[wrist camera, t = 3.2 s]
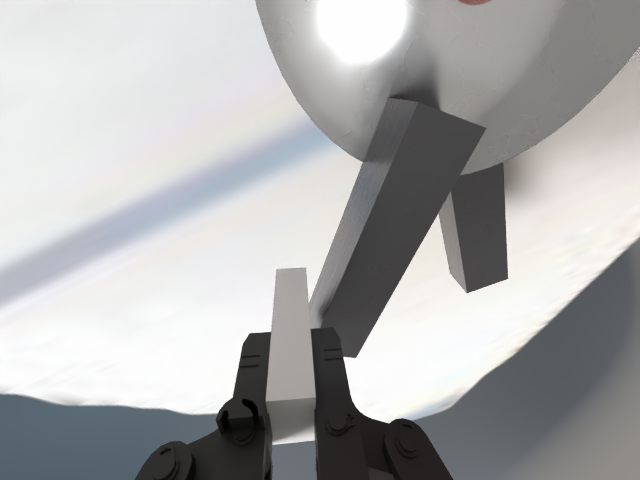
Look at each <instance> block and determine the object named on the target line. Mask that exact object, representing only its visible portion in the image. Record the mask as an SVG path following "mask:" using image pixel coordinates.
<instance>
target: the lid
mask: <svg viewBox="0 0 640 480" xmlns="http://www.w3.org/2000/svg"><path fill="white" fill-rule="evenodd" d="M255 1H256V5H257V10H258V13H259V16H260V19H261V22H262V25H263V28H264V31H265V34H266V38H267V41H268V44H269V46H270V49H271V51H272V53H273V55H274V58H275V60H276V62H277V64H278V67H279V69H280V71H281V74H282V76H283V77H284V79H285V81H286V82H287V84H288V86H289V88H290V89H291V91H292V93H293V94H294V96H295V98H296V100H297V101H298V103H299V104H300V105H301V107H302V108H303V109H304V111H305V112H306V113H307V114H308V116H309V117H310V118H311V120H312V121H313V122H314V123H315V124H316V125H317V127H318V128H319V129H320V130H321V131H322V132H323V133H324V134H325V135H326V136H327V137H328V138H329V139H330V140H331V141H333V142H334V143H335V144H337V145H338V146H339V147H340V148H342V149H343V150H344V151H346V152H347V153H348V154H350V155H351V156H353V157H355V158H357V159H359V160H360V161H362V162H363V164H362V166H361V169H360V172H359V174H358V177H357V180H356V182H355V185H354V187H353V190H352V193H351V195H350V198H349V200H348V203H347V206H346V208H345V211H344V214H343V216H342V219H341V221H340V224H339V227H338V229H337V232H336V234H335V237H334V240H333V242H332V245H331V248H330V250H329V253H328V255H327V258H326V261H325V263H324V266H323V268H322V271H321V274H320V276H319V279H318V282H317V284H316V287H315V289H314V292H313V295H312V297H311V300H310V302H309V315H310V329H315V328H330V327H333V328H334V330H335V331H336V333H337V334H338V336H339V337H340V343H341V348H342V353H343V356H344V357H352V358H356V357H357V355H358V353H359V352H360V350H361V348H362V346H363V344H364V343H365V341H366V339H367V337H368V336H369V334H370V332H371V330H372V329H373V327H374V325H375V323H376V322H377V320H378V318H379V316H380V315H381V313H382V311H383V309H384V308H385V306H386V304H387V302H388V301H389V299H390V297H391V295H392V294H393V292H394V290H395V288H396V287H397V285H398V283H399V281H400V280H401V278H402V276H403V274H404V272H405V271H406V269H407V267H408V265H409V264H410V262H411V260H412V258H413V257H414V255H415V253H416V251H417V250H418V248H419V246H420V244H421V243H422V241H423V239H424V237H425V236H426V234H427V232H428V230H429V229H430V227H431V225H432V223H433V222H434V220H435V218H436V216H437V215H438V213H439V211H440V209H441V208H442V206H443V204H444V202H445V201H446V199H447V197H448V195H449V193H450V192H451V190H452V188H453V186H454V185H455V183H456V181H457V179H458V178H459V176H460V175H465V174H470V173H473V172H476V171H480V170H483V169H486V168H489V167H492V166H494V165H497V164H499V163H501V162H504V161H506V160H508V159H511V158H513V157H515V156H516V155H518V154H520V153H522V152H524V151H525V150H527V149H529V148H531V147H533V146H534V145H536V144H537V143H539V142H540V141H542V140H543V139H545V138H546V137H548V136H549V135H551V134H552V133H554V132H555V131H556V130H558V129H559V128H560V127H561V126H563V125H564V124H565V123H566V122H568V121H569V120H570V119H571V118H572V117H574V116H575V115H576V114H577V113H579V112H580V111H581V110H582V109H583V108H584V107H585V106H586V105H587V104H588V103H589V102H590V101H591V100H592V99H593V98H594V97H595V96H596V95H597V94H599V93H600V92H601V91H602V89H603V88H604V87H605V86H606V85H607V84H608V83H609V82H610V81H611V80H612V78H613V77H614V76H615V75H616V74H617V73H618V72H619V71H620V70H621V68H622V67H623V66H624V65H625V64H626V62H627V61H628V60H629V59H630V57H631V56H632V55H633V53H634V52H635V51H636V50H637V48H638V47H639V46H640V0H255Z"/></svg>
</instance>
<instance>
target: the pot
mask: <svg viewBox="0 0 640 480" xmlns="http://www.w3.org/2000/svg"><path fill="white" fill-rule="evenodd" d="M439 218H440V223H441V228H442V234H443V239H444V244H445V249H446V254H447V259H448V265H449V270H450V274H451V275H452V276H453V277H454V278H455V280H456V281H457V282H458V283H459V284H460V286H461V287H462V288H463V289H464V290H465V292H466V293H469V292H472V291H475V290H478V289H480V288H483V287H486V286H489V285H492V284H495V283H497V282H500V281H503V280H506V279H508V268H507V244H506V220H505V196H504V172H503V162H501V163H499V164H497V165H494V166H492V167H489V168H486V169H483V170H480V171H476V172H473V173H470V174H465V175H460V176H459V178H458V179H457V181H456V183H455V185H454V186H453V188H452V190H451V192H450V193H449V195H448V197H447V199H446V201H445V202H444V204H443V206H442V208H441V209H440V211H439Z"/></svg>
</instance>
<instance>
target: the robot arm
mask: <svg viewBox="0 0 640 480" xmlns="http://www.w3.org/2000/svg"><path fill="white" fill-rule="evenodd" d="M216 422H217V425H218V429H217V430H215V431H214V432H213V433H211V434H209V435H208V436H205V437H203V438H201V439H199V440H197V441H194V442H192V443H190V444H188V445H187V444H185V443H183V442H181V441H173V442H169V443H167V444H165V445H162V446H161V447H160V448H158V449H157V450H156V451H154V452H153V453H152V454H151V455H150V457H149V458H148V459H147V461H146V462H145V463H144V465H143V466H142V468H141V470H140V471H139V473H138V475H137V477H136V479H135V480H272V468H273V466H272V442H273V445H274V444H284V443H293V442H303V441H313V440H315V449H316V472H317V480H453V478H452V477H451V475H450V473H449V472H448V470H447V468H446V467H445V465H444V463H443V462H442V460H441V458H440V457H439V455H438V453H437V452H436V450H435V448H434V447H433V445H432V443H431V442H430V440H429V438H428V437H427V435H426V434H425V433H424V431H423V430H422V429H421V428H420V427H419V426H418V425H417V424H415V423H414V422H413V421H411V420H407V419H403V418H402V419H395V420H394V421H392V422H391V423H390V424H388V423H385V422H381V421H378V420H374V419H371V418H369V417H366V416H365V415H363V414H362V413H361V412H360V411H359V410H358V409H357V408H356V407H355V405H354V403H353V402H352V399H351V396H350V390H349V385H348V380H347V374H346V369H345V364H344V360H343V353H342V348H341V343H340V337H339V336H338V334H337V333H336V331H335V330H334V328H333V327H330V328H315V329H310V315H309V302H308V289H307V276H306V268H291V269H277V270H276V282H275V294H274V306H273V318H272V330H271V332H264V333H250V334H249V335H248V337H247V339H246V340H245V342H244V343H243V346H242V351H241V358H240V362H239V369H238V372H237V378H236V383H235V388H234V394H233V398H232V399H230V400H229V401H227V402H226V403H225V404H224V405H223V407H222V408H221V409H220V410H219V413H218V415H217V418H216Z"/></svg>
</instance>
